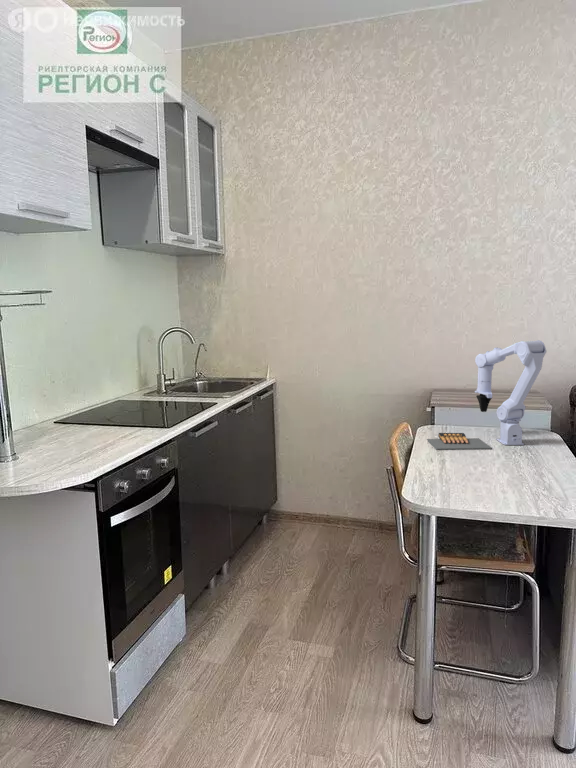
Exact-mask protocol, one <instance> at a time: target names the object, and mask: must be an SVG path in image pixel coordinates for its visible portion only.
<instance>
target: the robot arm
mask: <svg viewBox="0 0 576 768" xmlns="http://www.w3.org/2000/svg"><path fill="white" fill-rule="evenodd" d="M546 354H547V349H546V345H545V343H544V342H543V341H542V340H539V339H537V340H530V341H529V340H528V341H527V340H526V341H524V340H521V341H519V342H515V343H512V344H511V345H509V346H507V347H504V348H501V347H494V348H493V349H492V350H487V351H486V352H485V353H478V354H477V355H476V356H475V359H474V361H475V364H476V366H477V387H476V390H474V393H475V394H477V395H476V399H477V401H478V404H479V410H480V413H481V412H482V413H486V412H487V411H488V407H489V404H490V402H491V400H492V399H493V393H492V381H493V380H492V377H493V374H492V373H493V369H494V366H495V365H496V364H498V363H500V362H504V361H505V360H506V359H507V358H506V357H509V356H512V355H517V357H518V359H519V360H520V362H521V364H522V366H523V365H524V369H523V371H522V373H521V374H520V376H519V378H518V380H517V382H516V385H515V387H514V388H513V390H512V392H511V394H510V396H509V398H507V399H506V400H504V401H503V402H502V404H501V405H500V406H498V407H497V408H496V417H497V418H498V421H499V422H500V424H499V425H500V428H499V429H500V431H499V437H500V438H496V441H498V442H499V443H501V444H503V445H504V446H523V445H525V443H523V428H522V426H520V422H521V421H522V420H521V419H523V418H524V415H525V410H526V405H525V403H524V402H525V400H526V398H527V397H528V394H530V391H531V390H532V386H533V385H534V383H535V382H536V380H537V377H538V376H539V374H540V372H541V370H542V367H543V362H544V361H543V360H544V357H545V356H546ZM478 394H479V395H478Z"/></svg>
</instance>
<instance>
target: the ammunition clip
mask: <svg viewBox="0 0 576 768" xmlns="http://www.w3.org/2000/svg"><path fill="white" fill-rule="evenodd" d="M467 438H468V437H467V436H466V434H465V433H464V432H438V439H440V440H442V441H443V442H444V443H446V441H447V442H448V443H451V442H453V443H455V441H456V442H457V443H460V442H461V443H464V442H466V443H468V440H467ZM450 440H451V441H450ZM459 441H460V442H459Z"/></svg>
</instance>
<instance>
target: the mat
mask: <svg viewBox="0 0 576 768" xmlns="http://www.w3.org/2000/svg"><path fill="white" fill-rule="evenodd" d="M466 438H467V440H468V443H466V442H464V443H461V442H460V441H459V442H460V443H457V442H456V441H455V443H453V442H451V443H448V442H447V441H446V443H444V442H443V441H442V440H440V438H427V439H426V441H427V440H428V441H427V443H429V444H430V445H431V446H432V447H433V448H434V449H435V450H436V451H459V450H460V451H464V450H465V451H467V450H468V451H470V450H471V451H472V450H473V451H475V450H477V451H478V450H479V451H481V450H493V447H492V446H491V445H489V444H488V443H486V442H484V441H483V440H481V438H478V437H477V438H473V437H472V438H469V437H466ZM450 441H451V440H450Z"/></svg>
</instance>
